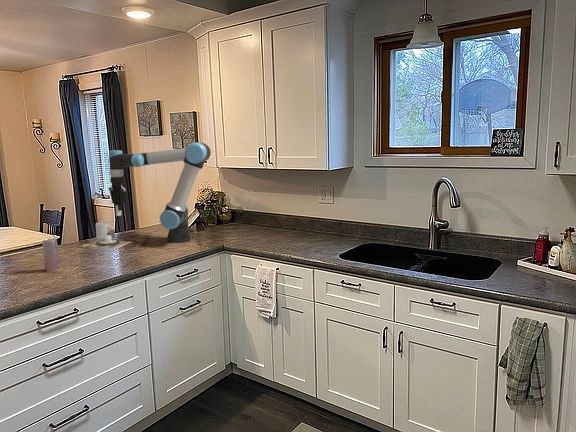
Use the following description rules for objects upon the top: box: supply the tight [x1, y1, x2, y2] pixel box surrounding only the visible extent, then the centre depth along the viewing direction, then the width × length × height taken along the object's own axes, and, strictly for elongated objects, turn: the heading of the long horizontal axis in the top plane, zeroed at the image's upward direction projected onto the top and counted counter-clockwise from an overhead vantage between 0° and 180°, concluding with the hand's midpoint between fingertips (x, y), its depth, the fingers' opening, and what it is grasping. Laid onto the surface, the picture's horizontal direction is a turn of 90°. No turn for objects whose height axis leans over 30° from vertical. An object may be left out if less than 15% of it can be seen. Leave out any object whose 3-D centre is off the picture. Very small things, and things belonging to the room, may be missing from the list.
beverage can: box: [42, 238, 60, 273], centre depth 210 cm, size 6×6×15 cm
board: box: [82, 238, 133, 249], centre depth 262 cm, size 24×17×3 cm
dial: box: [99, 228, 117, 243], centre depth 264 cm, size 15×10×7 cm, turn 4°
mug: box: [95, 221, 114, 240], centre depth 279 cm, size 12×8×10 cm
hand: (118, 215), depth 264 cm, fingers closed
